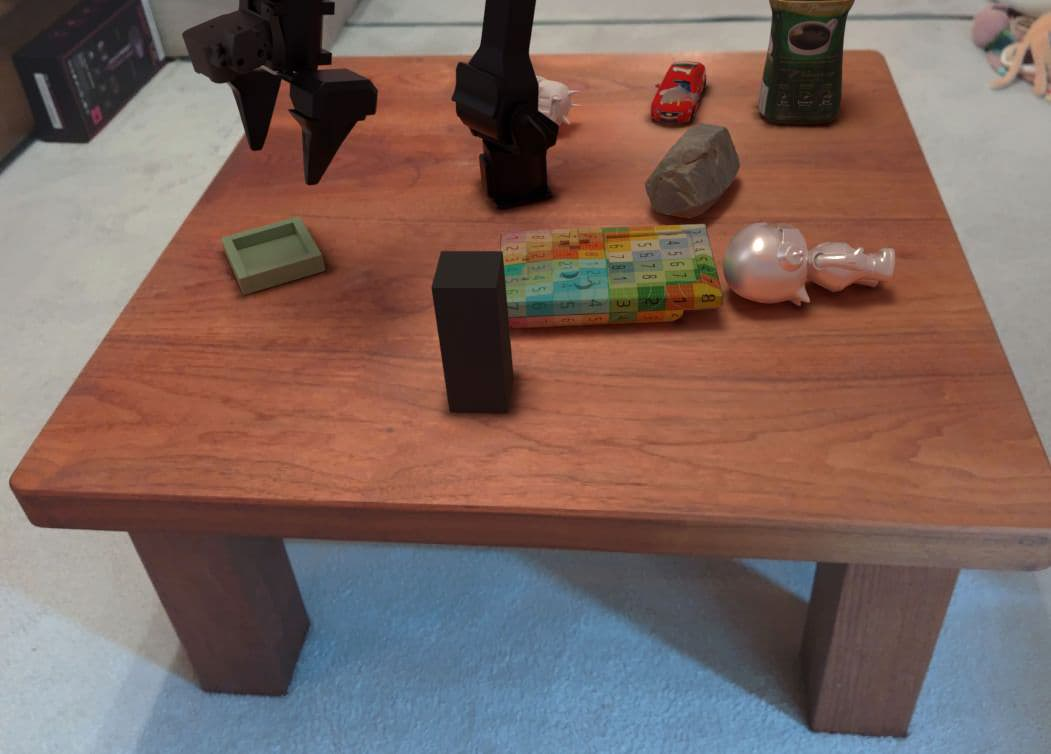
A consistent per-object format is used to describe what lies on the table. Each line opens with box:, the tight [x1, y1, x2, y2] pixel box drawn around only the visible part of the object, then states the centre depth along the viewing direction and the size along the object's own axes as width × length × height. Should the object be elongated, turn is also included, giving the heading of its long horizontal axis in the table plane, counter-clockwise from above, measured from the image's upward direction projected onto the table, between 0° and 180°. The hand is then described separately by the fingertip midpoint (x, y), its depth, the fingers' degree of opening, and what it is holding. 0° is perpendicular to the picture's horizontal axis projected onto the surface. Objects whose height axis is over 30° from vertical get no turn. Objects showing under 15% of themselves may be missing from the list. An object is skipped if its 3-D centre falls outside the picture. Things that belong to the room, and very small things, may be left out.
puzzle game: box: [499, 223, 724, 329], centre depth 95 cm, size 12×5×20 cm
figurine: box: [722, 221, 896, 307], centre depth 92 cm, size 11×7×15 cm
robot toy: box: [475, 46, 584, 126], centre depth 121 cm, size 15×9×14 cm
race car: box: [650, 60, 707, 124], centre depth 124 cm, size 13×5×4 cm, turn 161°
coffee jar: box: [758, 0, 856, 125], centre depth 116 cm, size 10×8×19 cm
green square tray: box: [220, 215, 326, 296], centre depth 103 cm, size 8×8×2 cm
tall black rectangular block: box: [430, 250, 514, 414], centre depth 82 cm, size 5×5×13 cm
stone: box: [644, 122, 741, 219], centre depth 106 cm, size 12×8×8 cm, turn 152°
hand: (283, 166), depth 89 cm, fingers open, 9 cm apart
